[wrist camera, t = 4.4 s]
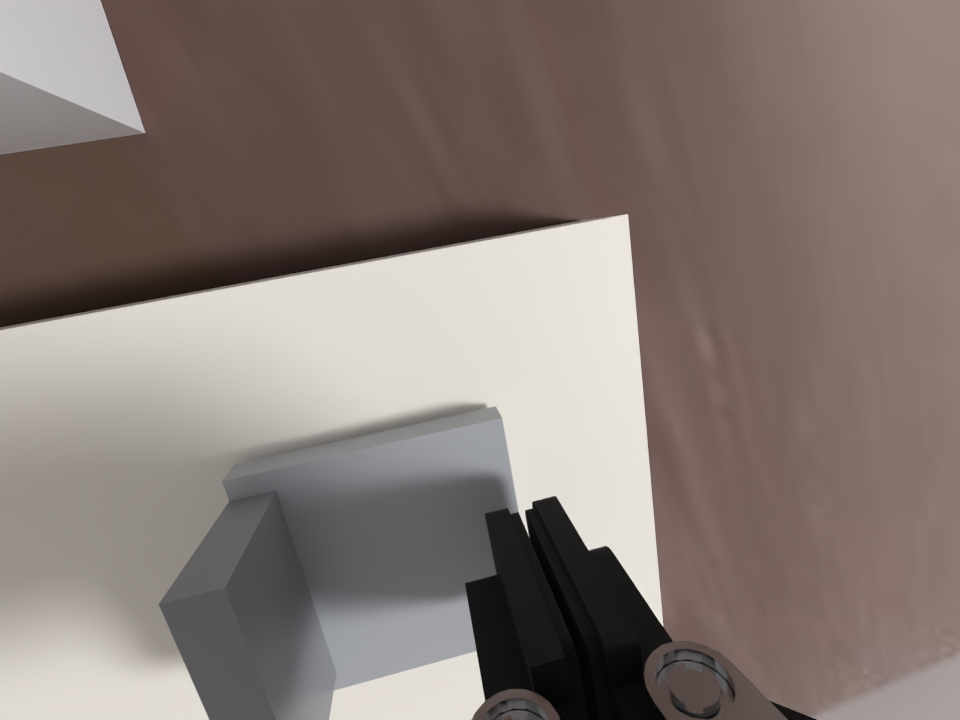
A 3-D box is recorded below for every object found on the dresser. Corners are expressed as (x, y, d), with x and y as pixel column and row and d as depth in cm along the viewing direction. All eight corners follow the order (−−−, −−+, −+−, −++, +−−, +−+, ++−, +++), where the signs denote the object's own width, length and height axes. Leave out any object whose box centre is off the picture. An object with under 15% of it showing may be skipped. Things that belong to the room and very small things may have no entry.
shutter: (495, 406, 11) (537, 482, 8) (531, 610, 13) (580, 753, 9) (235, 464, 11) (147, 577, 7) (307, 671, 12) (266, 850, 9)
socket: (581, 220, 14) (628, 213, 11) (624, 602, 17) (667, 673, 15) (-127, 350, 12) (-299, 385, 9) (90, 749, 16) (18, 864, 13)
